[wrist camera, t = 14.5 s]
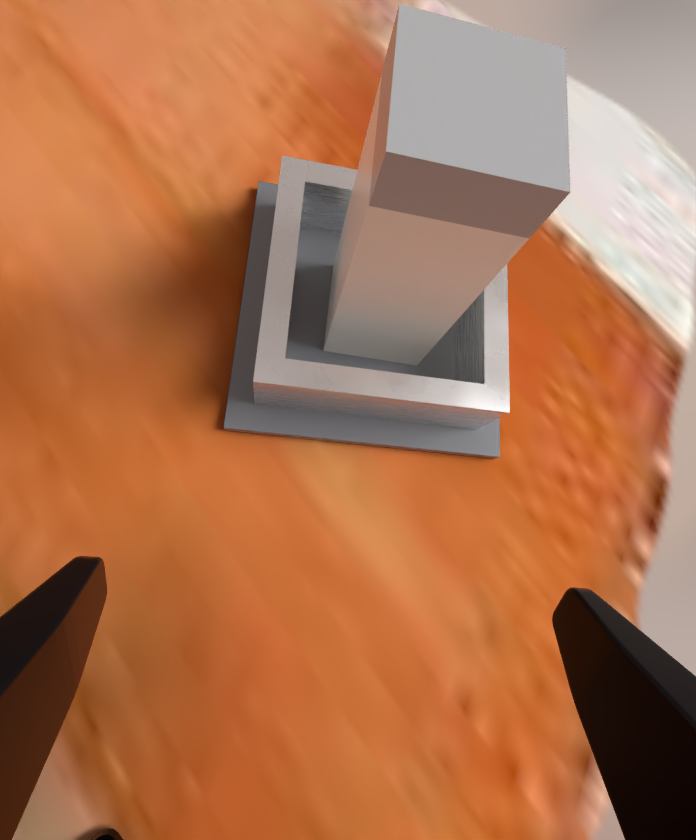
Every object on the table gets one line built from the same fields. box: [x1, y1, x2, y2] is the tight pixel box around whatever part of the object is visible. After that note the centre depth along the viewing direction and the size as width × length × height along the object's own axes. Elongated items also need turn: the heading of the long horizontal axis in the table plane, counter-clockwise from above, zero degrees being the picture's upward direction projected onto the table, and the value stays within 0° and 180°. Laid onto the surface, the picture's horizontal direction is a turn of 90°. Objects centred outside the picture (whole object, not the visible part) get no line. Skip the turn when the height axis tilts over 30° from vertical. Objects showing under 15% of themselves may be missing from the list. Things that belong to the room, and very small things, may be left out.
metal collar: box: [253, 156, 510, 430], centre depth 23 cm, size 11×11×4 cm
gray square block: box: [323, 4, 570, 366], centre depth 19 cm, size 5×5×13 cm
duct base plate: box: [224, 181, 500, 459], centre depth 25 cm, size 14×14×1 cm
